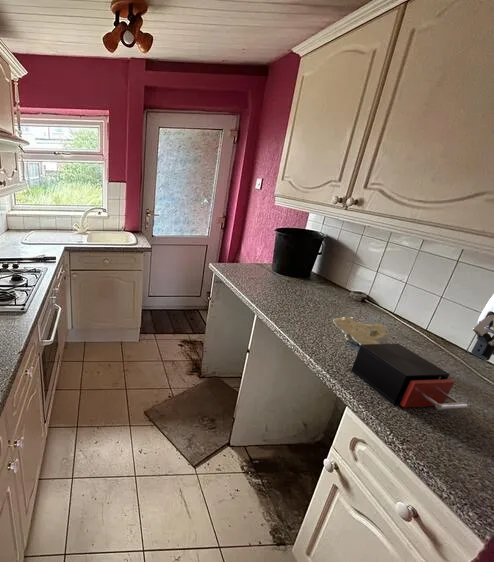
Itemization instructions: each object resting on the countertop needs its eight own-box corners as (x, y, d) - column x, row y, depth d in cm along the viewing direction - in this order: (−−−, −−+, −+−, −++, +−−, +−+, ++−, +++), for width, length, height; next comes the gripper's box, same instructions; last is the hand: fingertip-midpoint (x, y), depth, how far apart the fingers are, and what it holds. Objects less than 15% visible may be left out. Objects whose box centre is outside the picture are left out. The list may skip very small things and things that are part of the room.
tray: (466, 422, 77) (481, 398, 75) (425, 425, 76) (438, 400, 74) (395, 373, 95) (405, 351, 92) (361, 374, 94) (370, 352, 91)
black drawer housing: (435, 402, 85) (450, 374, 82) (393, 404, 84) (406, 375, 80) (387, 369, 99) (398, 343, 95) (351, 370, 97) (360, 344, 94)
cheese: (394, 359, 107) (377, 319, 114) (401, 353, 101) (383, 311, 109) (342, 362, 112) (329, 324, 120) (346, 357, 107) (332, 317, 114)
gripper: (517, 291, 62) (475, 367, 68) (588, 291, 63) (540, 365, 70) (473, 278, 69) (439, 348, 75) (539, 277, 70) (500, 346, 77)
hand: (488, 355), depth 73 cm, fingers open, 4 cm apart
